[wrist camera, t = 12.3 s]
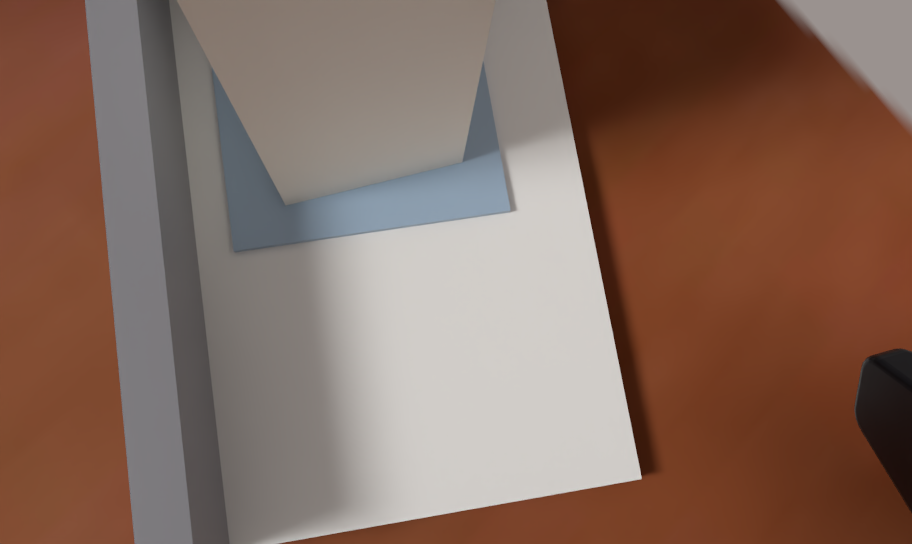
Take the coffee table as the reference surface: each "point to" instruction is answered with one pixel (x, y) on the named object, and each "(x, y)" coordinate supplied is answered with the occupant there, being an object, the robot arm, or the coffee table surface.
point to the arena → (347, 305)
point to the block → (347, 84)
